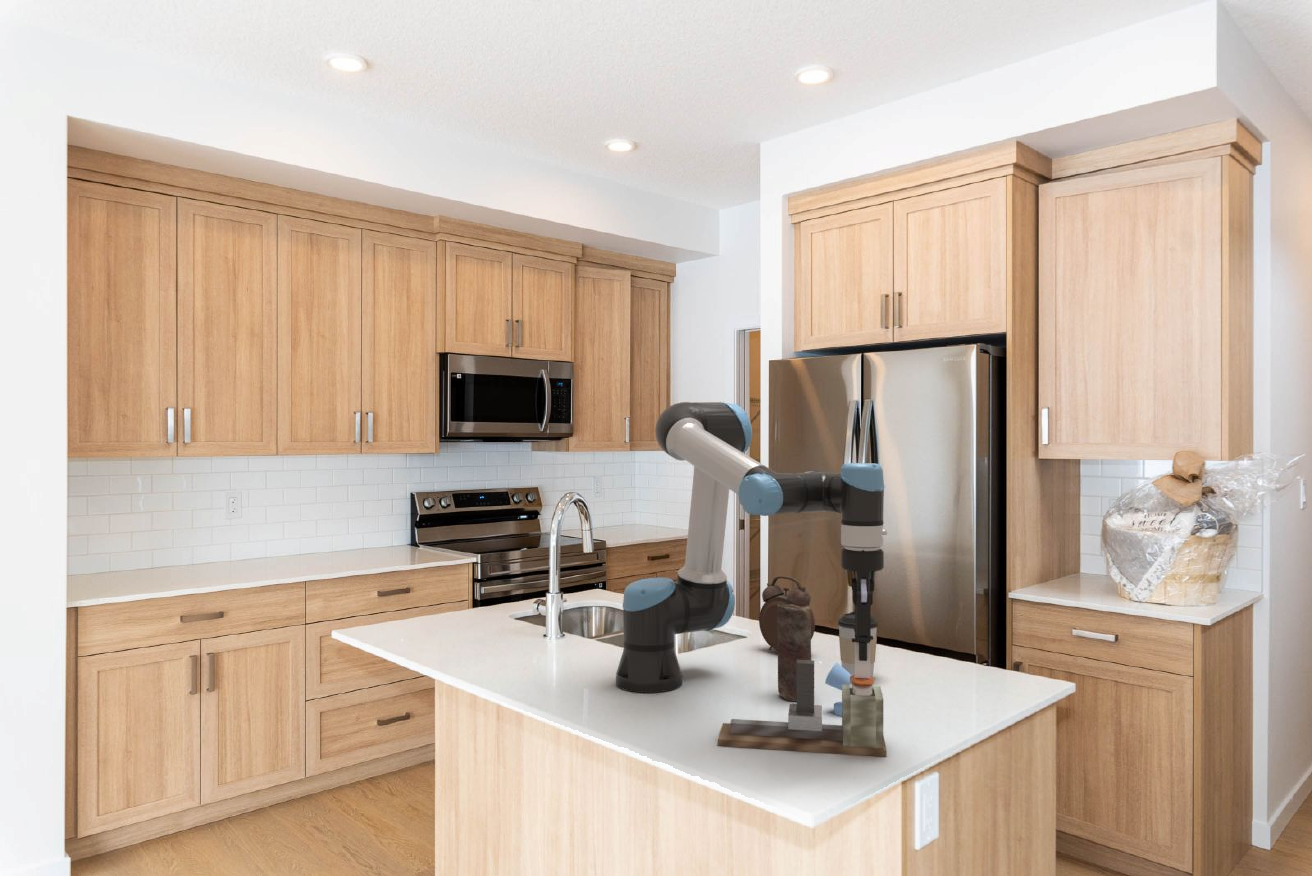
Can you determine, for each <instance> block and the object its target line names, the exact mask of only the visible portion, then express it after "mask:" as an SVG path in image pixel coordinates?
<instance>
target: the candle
mask: <svg viewBox="0 0 1312 876" xmlns="http://www.w3.org/2000/svg"><path fill="white" fill-rule="evenodd" d="M810 608H811V607H810V605H809V606H806V607H800V606H796V605H792V604H790V605H782V604H780V605H777V630H778V651H777V692H778V694H779V696H781V697H782V698H784V699H785V701H789V702H796V674H797V660H812V639H811V622H810Z"/></svg>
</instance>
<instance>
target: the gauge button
mask: <svg viewBox="0 0 1312 876" xmlns="http://www.w3.org/2000/svg"><path fill="white" fill-rule="evenodd" d="M850 683H852V695H866V696H872V686H874V685H875V677H874V676H873V677H872V676H870V678H855V675H852V676H850Z"/></svg>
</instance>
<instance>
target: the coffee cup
mask: <svg viewBox="0 0 1312 876" xmlns="http://www.w3.org/2000/svg"><path fill="white" fill-rule="evenodd" d="M837 622H838V623H837V625H838V630H839V633H838V638H839V639H838V641H839V652H840V661H841V662H840V663H841V666H842V667H843V668H844V669H845V670H846V671H847V672H849V673H850V674H851V675H855V642H852V638H855V631H854V629H855V610H854V611H853V610H852V611H851V612H849V613H844V614H842V616H841V617H840V618H838V621H837ZM877 629H878V620H876V619H875V618H874V617H873V615H871V636H873V640H871V641H870V676H872V677H874V669H875V662H876V653H877V652H876V650H877V638H878V637H877Z"/></svg>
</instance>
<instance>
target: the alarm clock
mask: <svg viewBox="0 0 1312 876" xmlns="http://www.w3.org/2000/svg"><path fill="white" fill-rule="evenodd" d="M779 579H784V580H790V581H792V582H794V583H795V584H796V586H797V587H794V588H792V589H791V590H790V589H789V588H787V587H783V588H782V587H780V586H779V585H777V584H776V583H777V581H778V580H779ZM775 584H776V585H775ZM788 592H789V593H788ZM787 593H788V594H787ZM761 597H762V601H763V602H762V603H763V604H762V606H761V608H760V611H759V614H758V615H759V616H758V622H759V623H758V625H759V630H760V633H761V636H762V637H763V640H764V641H765V642H766V644H767V645H768V646H769V647H768V651H769V652H770V651H771V650H772V649H773V650H775V651H777V652H778V630H777V605H780V604H782V605H790V604H792V605H796V606H800V607H806V606H809V607H810V603H811V598H812V597H811V595H810V593H809V592H808V591H807V590H806V587H805V586H803V587H802V584H801V583H800V581H799V579H796V578H794V577H793V576H787V575H779V576H776V577H774V578H773V580H772V582H771V583H770V582H767V583H766V587H765V588H764V590H762V594H761ZM810 622H811V640H812V639H813V638H814V634H815V629H816V619H815V616H814V613H813V611H812V609H811V607H810Z"/></svg>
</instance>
